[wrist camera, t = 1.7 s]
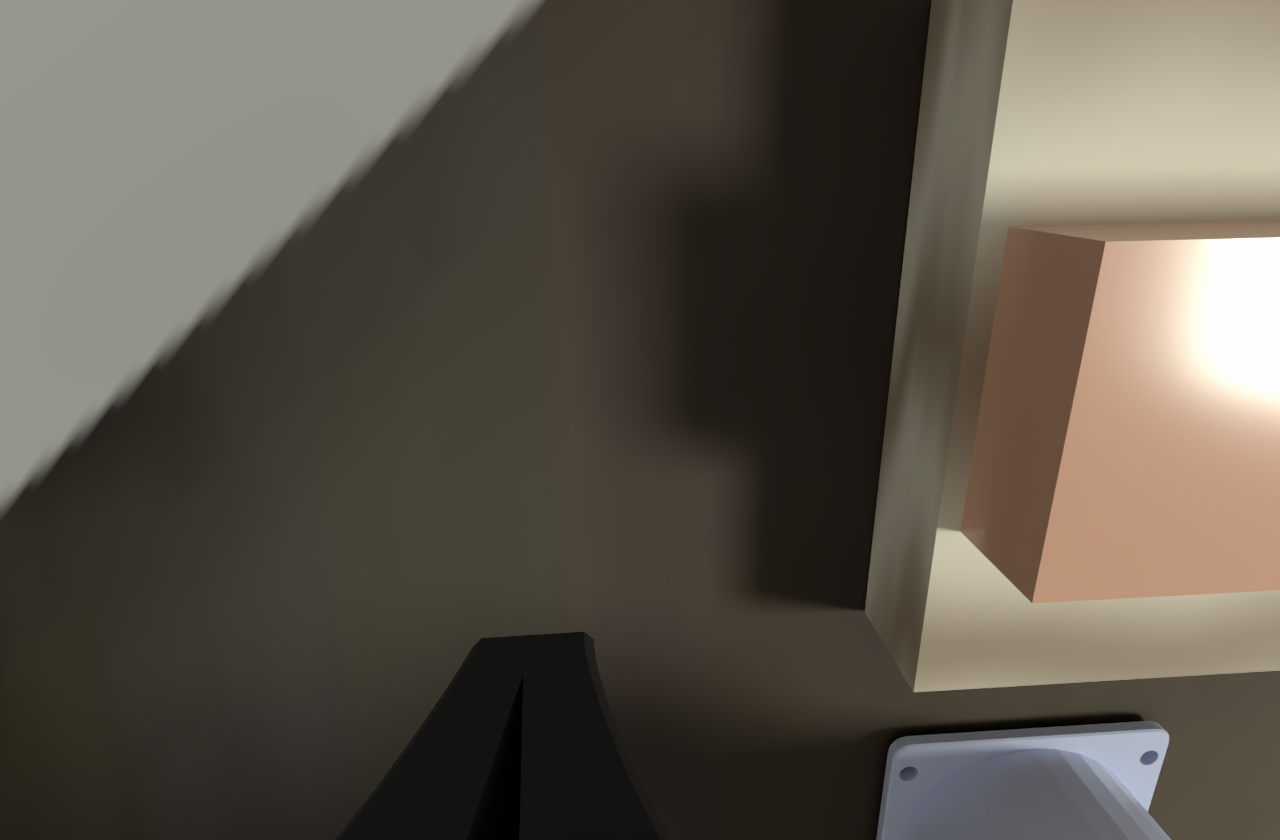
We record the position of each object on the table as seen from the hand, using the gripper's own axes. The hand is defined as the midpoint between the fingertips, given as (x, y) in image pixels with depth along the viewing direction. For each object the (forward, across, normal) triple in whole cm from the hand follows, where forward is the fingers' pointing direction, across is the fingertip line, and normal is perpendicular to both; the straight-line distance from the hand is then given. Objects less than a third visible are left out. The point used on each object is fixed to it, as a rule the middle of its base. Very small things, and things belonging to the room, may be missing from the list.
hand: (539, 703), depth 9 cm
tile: (+5, -12, -2) cm, 13 cm away
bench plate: (+8, -12, -2) cm, 15 cm away
